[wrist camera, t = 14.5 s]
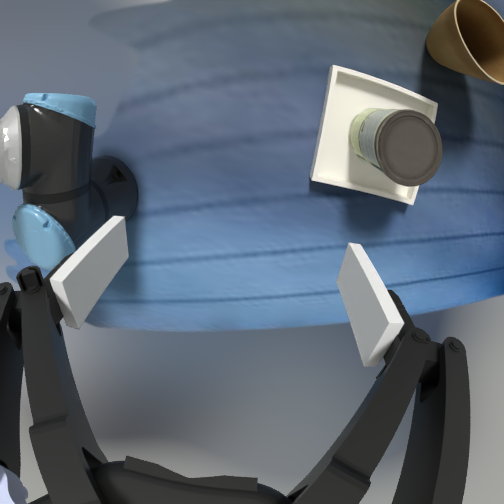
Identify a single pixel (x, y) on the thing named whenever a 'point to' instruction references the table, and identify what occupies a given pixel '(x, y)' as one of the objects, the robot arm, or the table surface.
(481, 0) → the plant pot
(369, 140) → the coffee can
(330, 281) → the table surface
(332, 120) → the tray
